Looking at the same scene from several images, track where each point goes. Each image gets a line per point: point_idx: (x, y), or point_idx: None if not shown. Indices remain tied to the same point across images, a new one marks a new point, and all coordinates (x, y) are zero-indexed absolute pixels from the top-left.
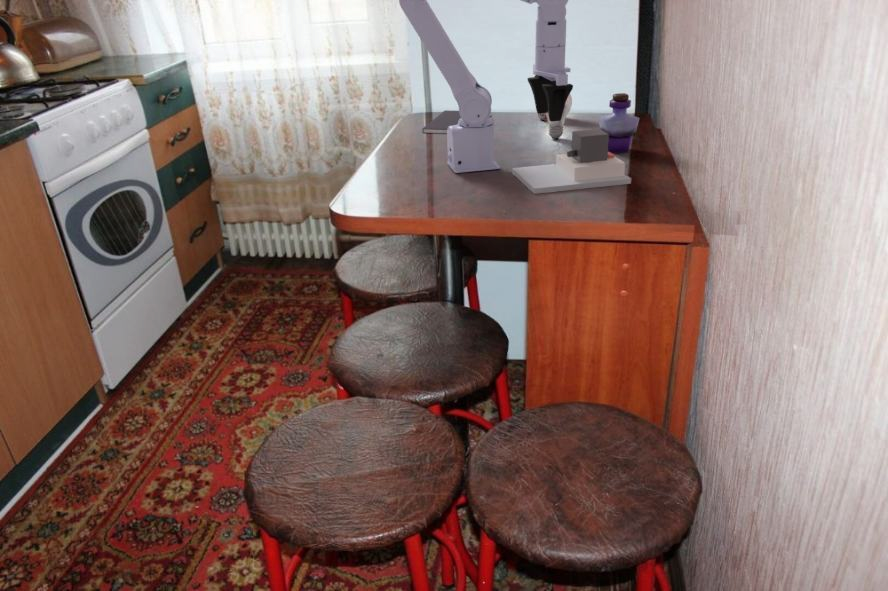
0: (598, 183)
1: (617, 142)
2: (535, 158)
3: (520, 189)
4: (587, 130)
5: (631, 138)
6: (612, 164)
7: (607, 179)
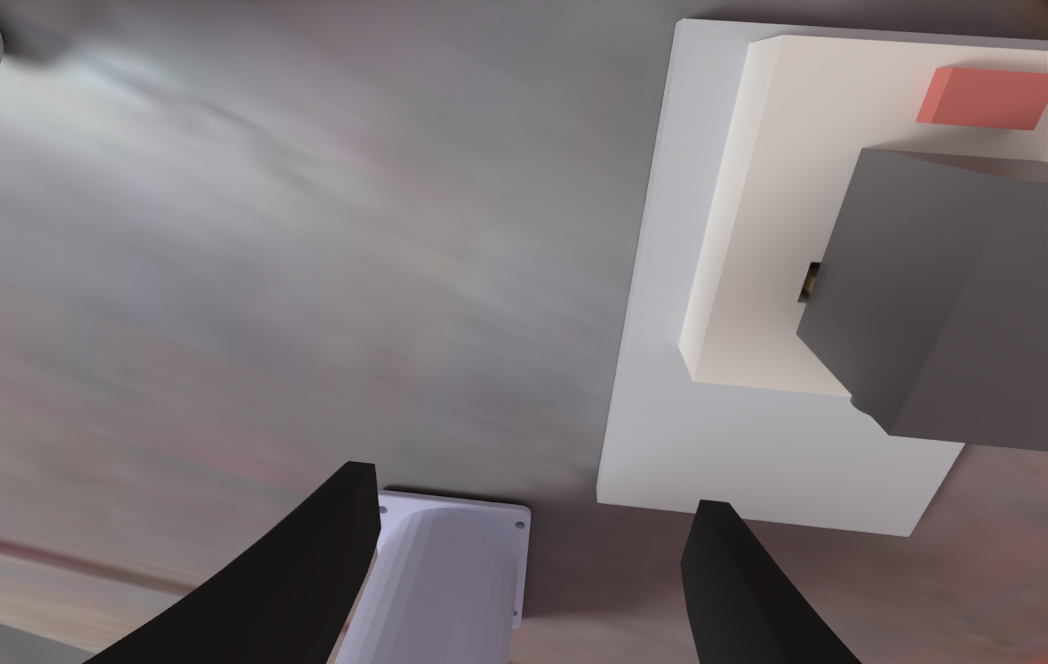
0: None
1: None
2: (409, 323)
3: (810, 533)
4: (966, 316)
5: None
6: None
7: None
